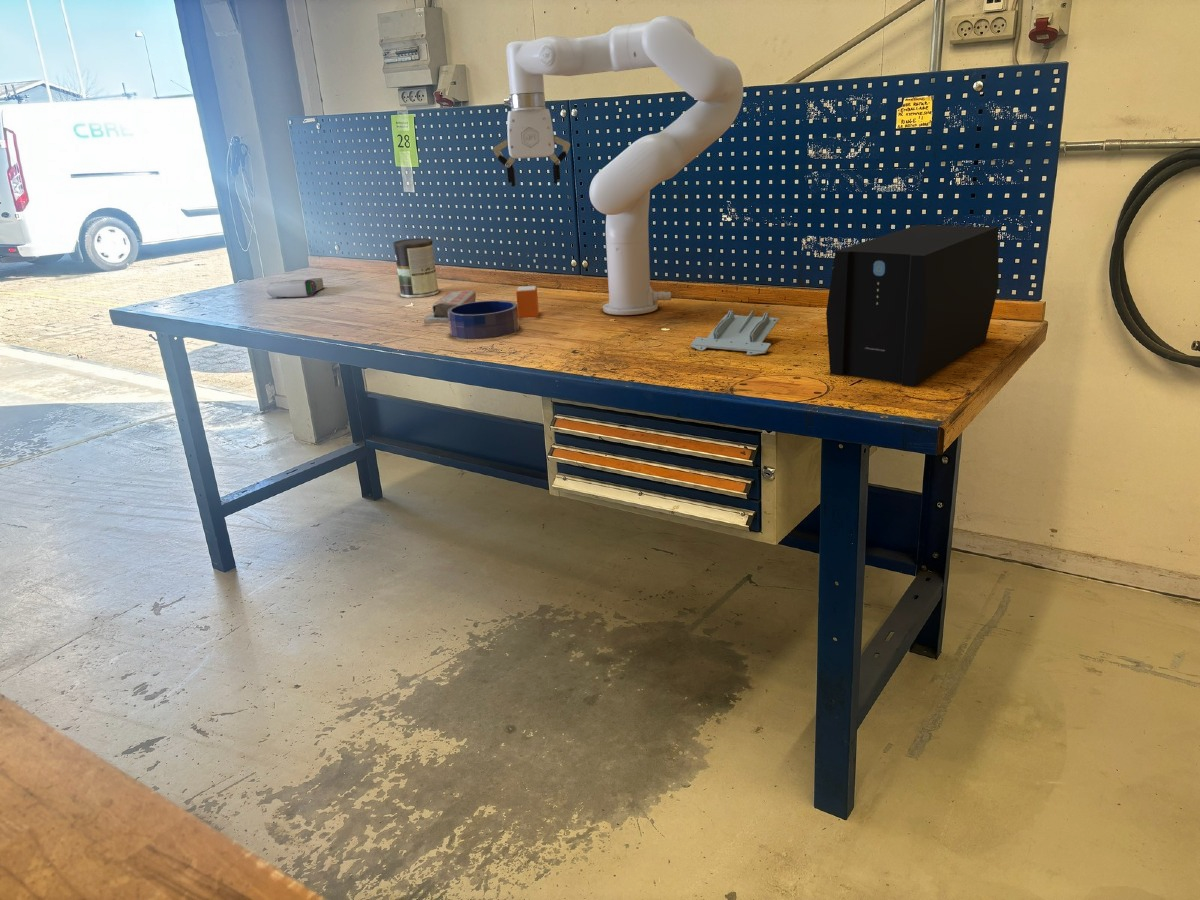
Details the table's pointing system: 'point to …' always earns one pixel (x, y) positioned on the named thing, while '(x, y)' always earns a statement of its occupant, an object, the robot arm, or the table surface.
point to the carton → (527, 301)
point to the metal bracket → (739, 334)
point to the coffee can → (416, 267)
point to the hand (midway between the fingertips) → (534, 184)
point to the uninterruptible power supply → (911, 301)
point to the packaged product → (449, 305)
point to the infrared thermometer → (295, 288)
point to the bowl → (483, 319)
